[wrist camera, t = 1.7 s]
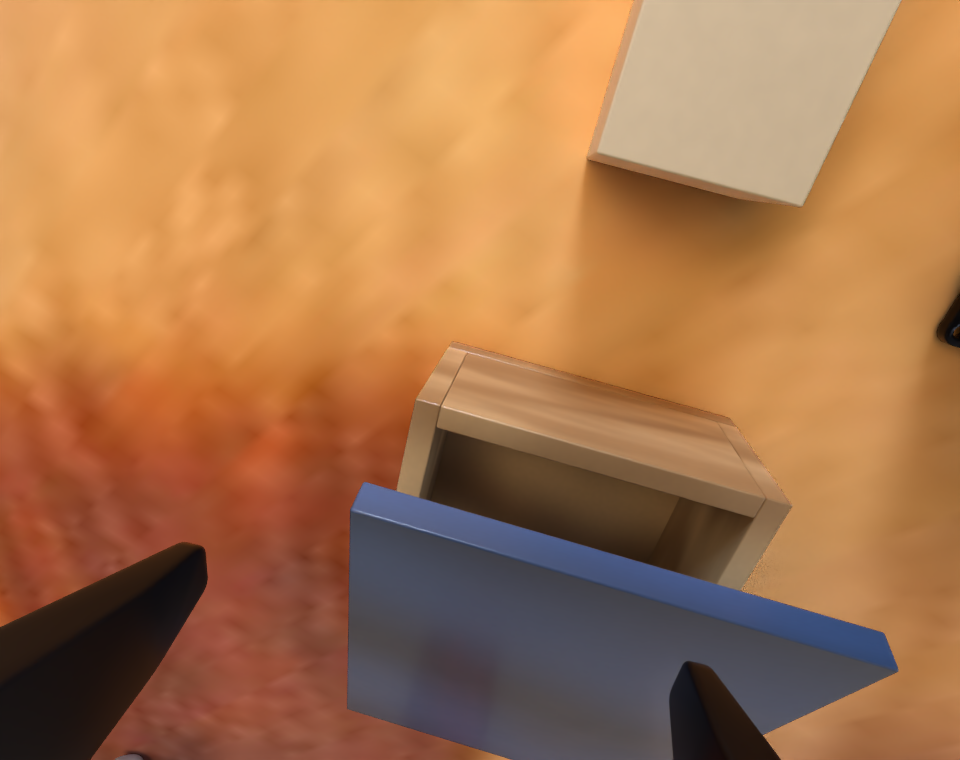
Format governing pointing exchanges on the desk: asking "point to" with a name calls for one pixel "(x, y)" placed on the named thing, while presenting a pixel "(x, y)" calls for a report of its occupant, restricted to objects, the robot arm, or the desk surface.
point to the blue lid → (565, 638)
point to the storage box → (591, 465)
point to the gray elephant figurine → (130, 757)
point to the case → (736, 91)
